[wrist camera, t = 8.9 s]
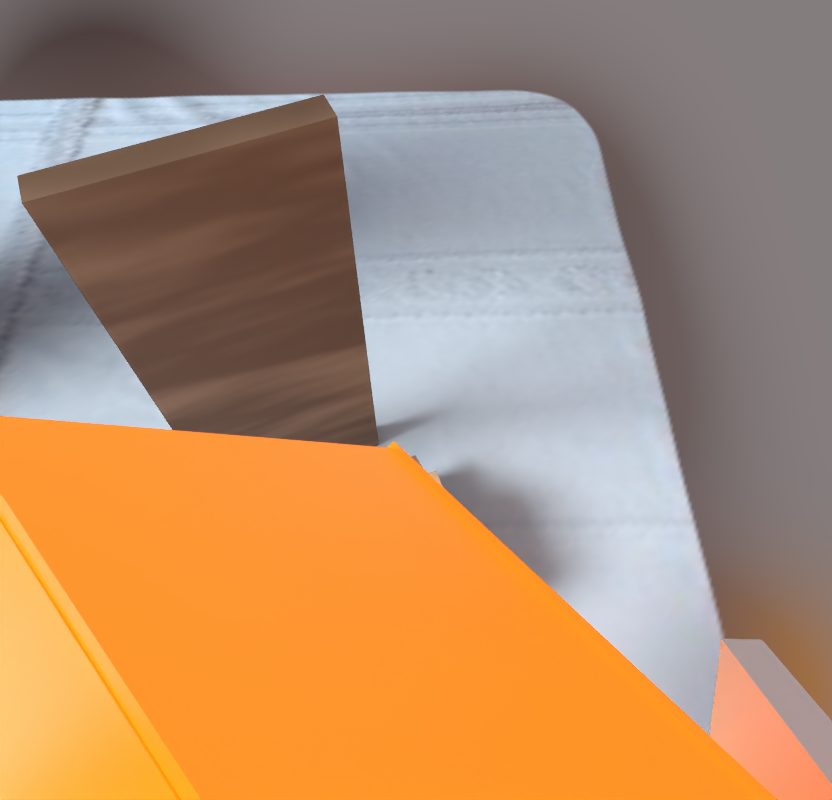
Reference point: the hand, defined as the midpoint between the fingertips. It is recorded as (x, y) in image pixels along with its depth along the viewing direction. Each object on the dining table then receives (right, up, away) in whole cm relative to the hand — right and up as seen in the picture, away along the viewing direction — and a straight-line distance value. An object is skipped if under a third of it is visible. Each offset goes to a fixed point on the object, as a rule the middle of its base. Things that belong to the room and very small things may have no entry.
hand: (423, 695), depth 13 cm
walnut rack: (-5, -2, +27) cm, 28 cm away
